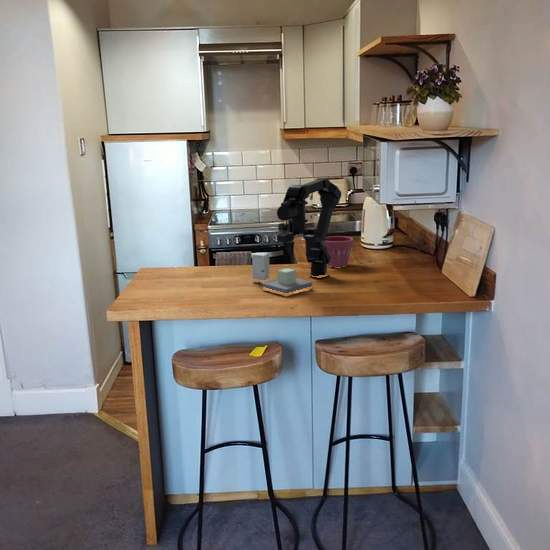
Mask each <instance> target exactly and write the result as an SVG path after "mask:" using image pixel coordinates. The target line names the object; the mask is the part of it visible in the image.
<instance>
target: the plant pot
mask: <svg viewBox="0 0 550 550" xmlns="http://www.w3.org/2000/svg"><path fill="white" fill-rule="evenodd" d="M325 242H326V245H327V253H328V254H329V256H330V257H331V260H330V263H329V264H327V265H328V266H332V267H343V266H347V267H348V264H349V261H350V255H351V251H352V248H353V247H354V238H353V237H349V236H344V235H343V236H342V235H334V236H326V240H325ZM328 266H327V267H328Z"/></svg>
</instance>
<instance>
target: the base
mask: <svg viewBox="0 0 550 550" xmlns="http://www.w3.org/2000/svg"><path fill="white" fill-rule="evenodd" d="M311 286H312V287H313V282H312V281H310V280H304V279H300V278H297V277H296V283H292V284H289V285H285V284H281V283H278V278H277V279H273V280H269V281H268V282H265V283H262V284H261V288H262V287H266V288H269V289H272V290H276V291H280V292H283V293H289V292H293V291H296V290H300V289H303V288H307V287H311Z"/></svg>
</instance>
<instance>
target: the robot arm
mask: <svg viewBox="0 0 550 550" xmlns="http://www.w3.org/2000/svg"><path fill="white" fill-rule="evenodd" d="M316 192H317V194H318V195H319V196H320V197H319V200H320V204H321V209H320V212H319V217H318V220H317V225H316V227H313V226H311V227H307V226H306V225H307V224H306V223H308V221H309V219H306V206H307V205H308V204H309V202H308V201H307V200H306V199H307V198H309V197H310V195H311V194H313V193H316ZM341 198H342V191H341V190H340V188H339V187H338V186H337V185H336V184H335V183H332V182H331V181H330V180H329V178H325V177H324V178H319V177H318V178H316V179H314V180H312V181H310V182H306V183H304V184H291V185H289V186H288V188H287V190H286V193H285V196H284V199H283V200H282V202H281V203H280V206H279V207H278V208H277V211H276V215H277V218H278V220H280V221H282V222H280V223H278V227H277V228H278V231H279V232H280V233H278V234H277V235H276V241H277V242H278V241H279V243H281V244H283V245H284V246H285V250H286V252H287V253H288V257H289V258H290V259H291V258H293V257H294V256H293V255H294V248H295V241H294V239H295V238H299V237H303V240H304V241H305V256H306V260H307V263H309V264H310V275H313V276H319V275H325V274H326V273H327V274H328V269H327V268H328V266H327V264H329V263H330V260H331V257H330V256H329V254H328V253H327V245H326V242H325V240H326V237H328V232H329V227H330V223H331V219H332V216H333V211H334V209H335V208H336V207H337V206H338V205H339V203H340V201H341ZM285 221H288V223H286V224H285V223H284V222H285Z"/></svg>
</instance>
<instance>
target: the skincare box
mask: <svg viewBox="0 0 550 550" xmlns="http://www.w3.org/2000/svg"><path fill="white" fill-rule="evenodd" d="M251 260H252V261H251V262H252V263H251V264H252V267H251V269H252V280H253V279H259V280H266V279H268V278H269V279H270V253H263V252H255V253H253V254H251Z"/></svg>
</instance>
